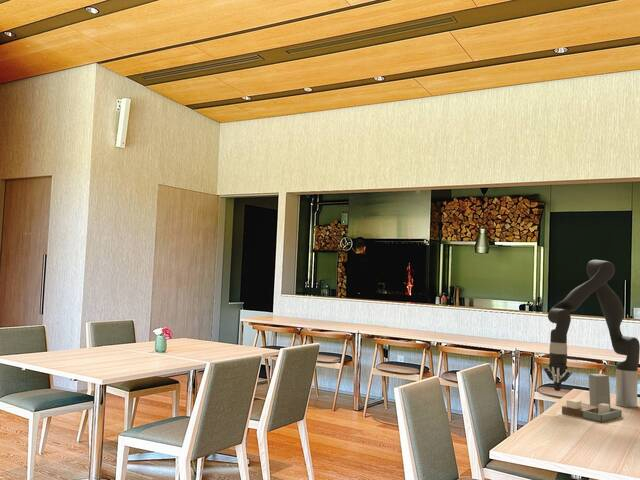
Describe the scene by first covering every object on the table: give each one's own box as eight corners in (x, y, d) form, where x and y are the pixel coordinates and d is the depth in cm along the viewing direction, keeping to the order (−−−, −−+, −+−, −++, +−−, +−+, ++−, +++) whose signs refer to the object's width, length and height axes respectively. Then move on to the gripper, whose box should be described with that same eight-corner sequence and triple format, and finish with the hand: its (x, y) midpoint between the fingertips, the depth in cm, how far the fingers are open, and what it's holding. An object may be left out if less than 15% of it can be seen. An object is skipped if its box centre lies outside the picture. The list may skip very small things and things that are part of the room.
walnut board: (580, 409, 277) (580, 402, 277) (601, 413, 270) (601, 406, 270) (561, 413, 267) (561, 406, 268) (583, 417, 260) (583, 410, 260)
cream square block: (571, 405, 269) (571, 399, 270) (581, 407, 266) (581, 401, 266) (566, 406, 267) (566, 400, 267) (576, 409, 263) (576, 402, 263)
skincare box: (610, 410, 276) (611, 376, 277) (595, 410, 276) (595, 375, 277) (602, 406, 285) (603, 373, 285) (587, 406, 285) (588, 372, 286)
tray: (603, 413, 270) (603, 406, 270) (621, 417, 263) (621, 410, 264) (582, 418, 259) (583, 410, 259) (601, 422, 252) (601, 414, 252)
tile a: (603, 403, 268) (609, 404, 266) (602, 413, 268) (609, 414, 266) (598, 404, 265) (605, 405, 263) (598, 414, 265) (604, 415, 263)
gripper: (576, 353, 271) (575, 392, 270) (549, 350, 281) (548, 387, 280) (567, 354, 266) (566, 394, 265) (540, 350, 276) (539, 388, 275)
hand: (557, 390), depth 273 cm, fingers closed
